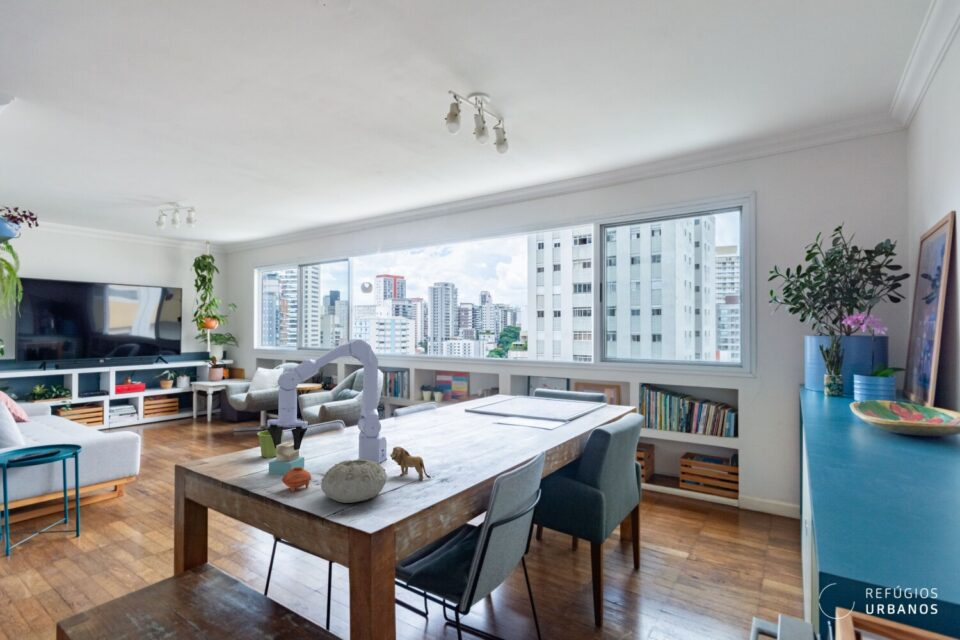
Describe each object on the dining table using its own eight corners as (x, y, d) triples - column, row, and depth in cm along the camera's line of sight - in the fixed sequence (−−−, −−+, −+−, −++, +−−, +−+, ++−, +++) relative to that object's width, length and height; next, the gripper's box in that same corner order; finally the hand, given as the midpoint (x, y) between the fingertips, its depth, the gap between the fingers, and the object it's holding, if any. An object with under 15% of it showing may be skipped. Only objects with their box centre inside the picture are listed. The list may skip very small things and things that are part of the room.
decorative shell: (307, 500, 131) (307, 464, 131) (355, 483, 146) (356, 450, 146) (353, 514, 122) (354, 474, 122) (399, 494, 137) (400, 459, 137)
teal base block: (304, 468, 162) (304, 456, 162) (291, 475, 154) (291, 463, 154) (282, 467, 163) (282, 455, 164) (268, 474, 156) (268, 462, 156)
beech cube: (298, 458, 161) (299, 443, 161) (288, 461, 156) (288, 446, 156) (286, 456, 162) (286, 442, 162) (276, 460, 158) (276, 445, 158)
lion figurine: (387, 475, 154) (387, 447, 154) (396, 471, 159) (397, 444, 159) (426, 481, 148) (426, 452, 148) (435, 477, 153) (435, 448, 153)
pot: (308, 481, 146) (309, 461, 145) (311, 495, 140) (313, 474, 138) (280, 484, 143) (281, 463, 142) (282, 498, 136) (283, 477, 135)
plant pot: (285, 451, 183) (285, 429, 183) (283, 458, 174) (283, 434, 175) (258, 453, 180) (258, 430, 181) (255, 460, 171) (255, 435, 172)
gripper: (261, 408, 158) (260, 449, 157) (298, 410, 154) (298, 453, 153) (275, 405, 164) (275, 444, 164) (312, 407, 160) (311, 447, 160)
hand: (287, 448), depth 159 cm, fingers open, 7 cm apart
